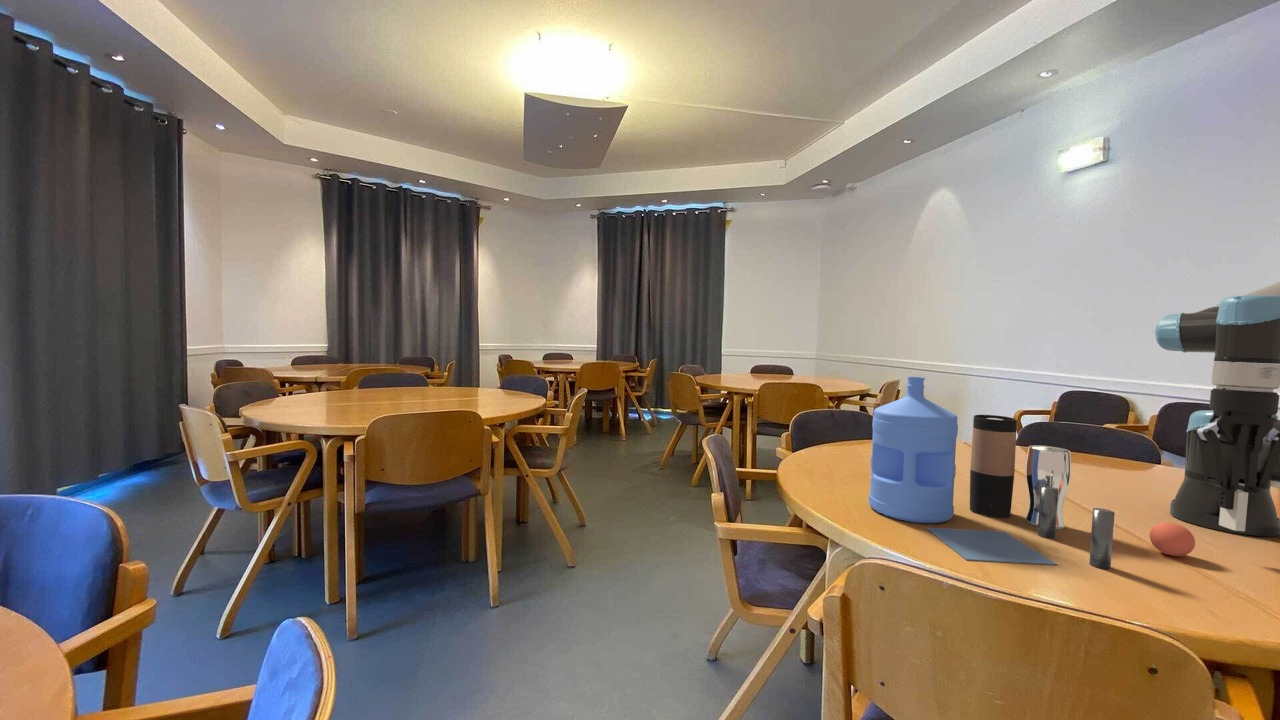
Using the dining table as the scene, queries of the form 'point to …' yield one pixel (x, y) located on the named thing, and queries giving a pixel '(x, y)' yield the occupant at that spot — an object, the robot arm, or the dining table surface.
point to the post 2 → (1101, 538)
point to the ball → (1172, 539)
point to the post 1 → (1047, 512)
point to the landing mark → (989, 546)
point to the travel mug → (992, 465)
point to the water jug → (913, 458)
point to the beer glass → (1047, 478)
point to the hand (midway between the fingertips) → (1231, 527)
